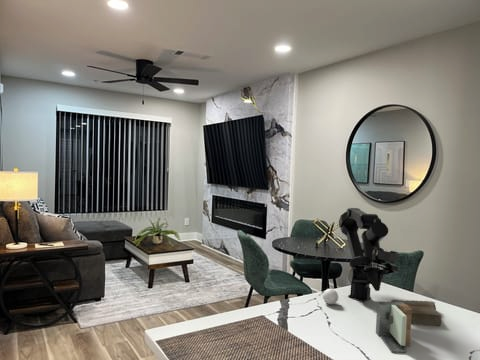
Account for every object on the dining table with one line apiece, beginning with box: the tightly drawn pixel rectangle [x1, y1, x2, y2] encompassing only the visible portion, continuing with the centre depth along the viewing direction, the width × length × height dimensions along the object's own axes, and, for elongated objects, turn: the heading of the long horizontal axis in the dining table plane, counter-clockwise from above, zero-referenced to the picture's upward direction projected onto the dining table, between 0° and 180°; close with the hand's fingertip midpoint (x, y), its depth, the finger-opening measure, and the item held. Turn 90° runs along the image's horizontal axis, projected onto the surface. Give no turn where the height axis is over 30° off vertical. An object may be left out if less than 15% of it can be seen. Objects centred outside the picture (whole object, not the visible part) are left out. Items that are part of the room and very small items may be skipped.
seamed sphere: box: [322, 288, 340, 305], centre depth 132 cm, size 8×6×6 cm
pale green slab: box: [389, 305, 407, 347], centre depth 104 cm, size 8×2×8 cm, turn 179°
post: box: [399, 304, 413, 348], centre depth 105 cm, size 4×2×11 cm, turn 178°
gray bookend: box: [375, 300, 407, 354], centre depth 105 cm, size 12×8×10 cm
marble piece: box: [390, 299, 443, 327], centre depth 125 cm, size 17×15×4 cm
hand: (377, 290), depth 122 cm, fingers closed
